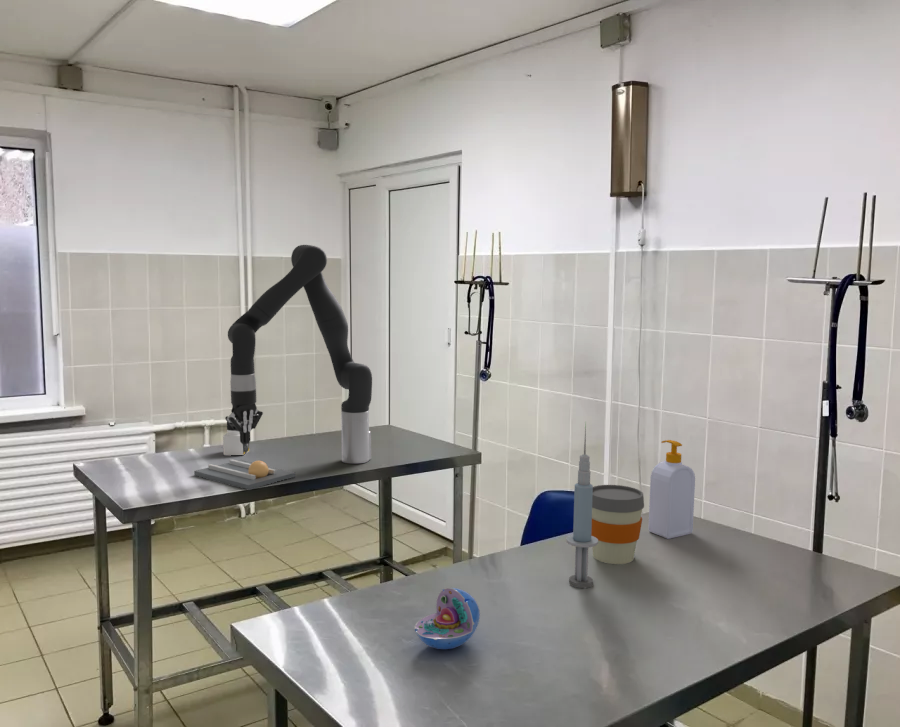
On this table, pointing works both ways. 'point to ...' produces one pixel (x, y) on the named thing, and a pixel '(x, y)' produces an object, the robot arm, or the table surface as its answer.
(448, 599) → the cell model
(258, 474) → the ball
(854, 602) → the table surface
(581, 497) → the syringe
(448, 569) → the table surface
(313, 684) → the table surface
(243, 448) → the medicine bottle
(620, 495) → the reusable coffee cup
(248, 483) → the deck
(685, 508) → the soap bottle
